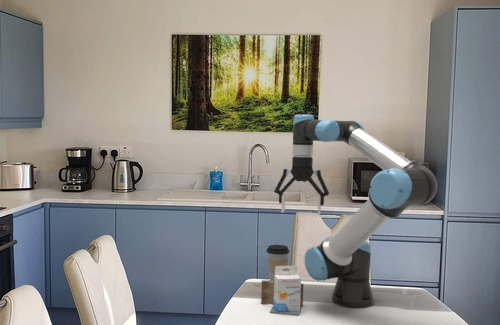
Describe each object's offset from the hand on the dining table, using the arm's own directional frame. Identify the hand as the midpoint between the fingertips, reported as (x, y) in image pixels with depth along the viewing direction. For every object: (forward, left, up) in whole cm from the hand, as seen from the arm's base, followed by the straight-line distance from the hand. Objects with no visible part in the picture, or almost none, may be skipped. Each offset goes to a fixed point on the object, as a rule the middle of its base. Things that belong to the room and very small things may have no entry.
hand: (300, 213), depth 202 cm
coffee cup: (+11, -15, -32) cm, 37 cm away
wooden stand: (+5, +11, -32) cm, 34 cm away
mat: (+2, +17, -32) cm, 36 cm away
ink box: (+2, +17, -31) cm, 36 cm away
